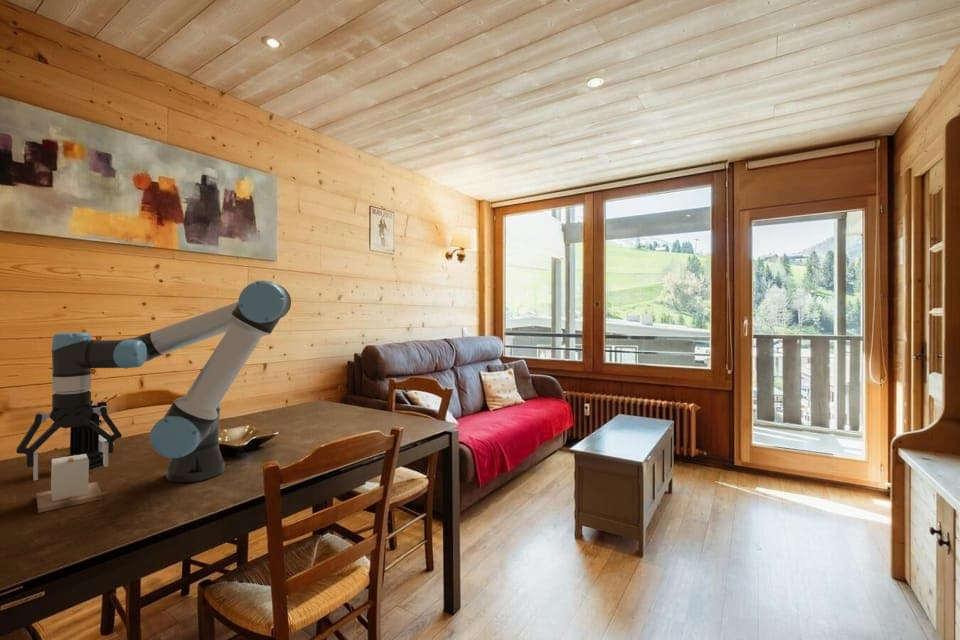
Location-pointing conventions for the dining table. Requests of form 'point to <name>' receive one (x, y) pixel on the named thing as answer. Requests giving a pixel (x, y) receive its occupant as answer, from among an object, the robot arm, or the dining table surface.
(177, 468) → the robot arm
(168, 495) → the dining table surface
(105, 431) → the die
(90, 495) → the hub plate
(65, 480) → the cream white block
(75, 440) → the chess piece
